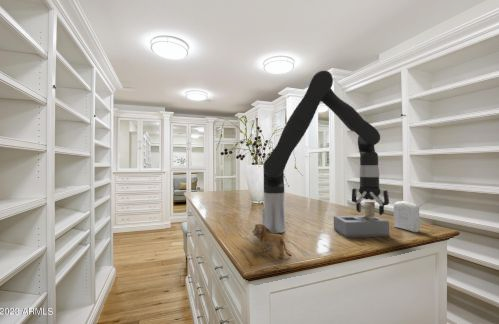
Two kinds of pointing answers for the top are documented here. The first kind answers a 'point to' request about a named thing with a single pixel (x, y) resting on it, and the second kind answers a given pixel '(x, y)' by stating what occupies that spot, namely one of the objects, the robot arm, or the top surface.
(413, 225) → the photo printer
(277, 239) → the lion figurine
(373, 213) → the pin
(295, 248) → the top surface
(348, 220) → the hole block
